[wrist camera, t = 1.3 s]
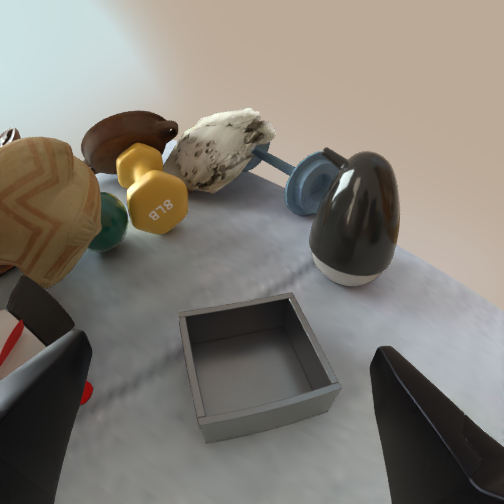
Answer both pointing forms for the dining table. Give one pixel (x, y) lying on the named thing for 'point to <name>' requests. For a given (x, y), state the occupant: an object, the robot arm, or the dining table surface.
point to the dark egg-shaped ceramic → (356, 219)
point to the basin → (254, 367)
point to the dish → (124, 138)
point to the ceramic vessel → (46, 208)
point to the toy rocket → (31, 327)
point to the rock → (217, 149)
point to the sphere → (110, 224)
